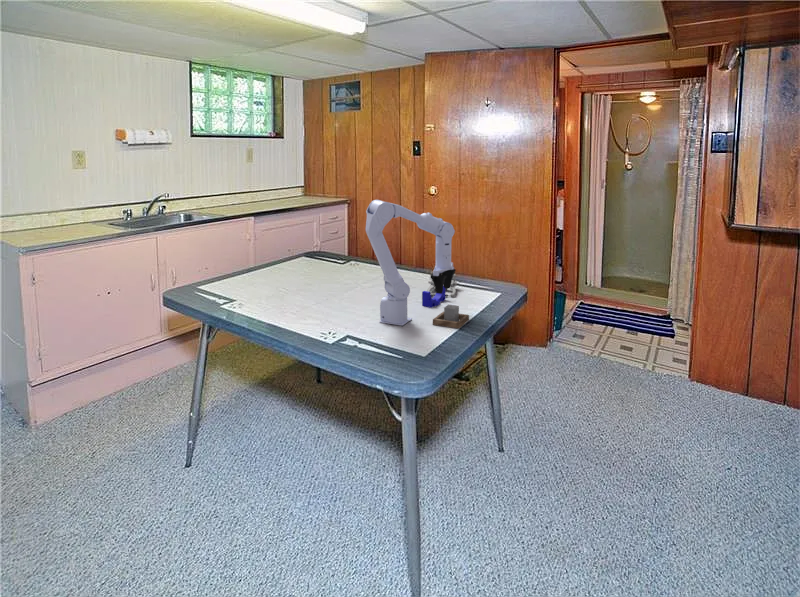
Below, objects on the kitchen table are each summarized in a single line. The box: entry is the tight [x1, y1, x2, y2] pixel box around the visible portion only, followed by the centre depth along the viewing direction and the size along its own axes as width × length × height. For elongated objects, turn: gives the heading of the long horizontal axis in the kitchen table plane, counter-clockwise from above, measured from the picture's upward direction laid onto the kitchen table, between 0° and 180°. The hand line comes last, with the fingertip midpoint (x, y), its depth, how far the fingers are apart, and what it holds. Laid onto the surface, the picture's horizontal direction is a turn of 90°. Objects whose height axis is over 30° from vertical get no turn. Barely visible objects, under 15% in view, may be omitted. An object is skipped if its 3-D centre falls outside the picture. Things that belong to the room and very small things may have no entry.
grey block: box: [443, 304, 460, 322], centre depth 191 cm, size 4×4×6 cm
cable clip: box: [421, 285, 446, 309], centre depth 214 cm, size 12×4×6 cm, turn 141°
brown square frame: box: [432, 310, 470, 330], centre depth 192 cm, size 10×10×2 cm
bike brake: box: [426, 273, 458, 298], centre depth 227 cm, size 14×7×20 cm
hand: (443, 290), depth 198 cm, fingers open, 7 cm apart
